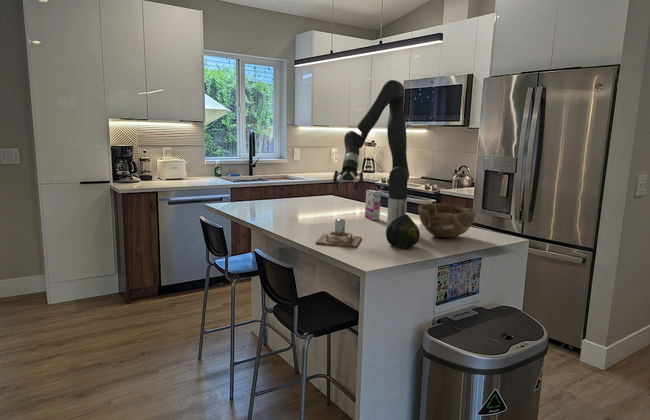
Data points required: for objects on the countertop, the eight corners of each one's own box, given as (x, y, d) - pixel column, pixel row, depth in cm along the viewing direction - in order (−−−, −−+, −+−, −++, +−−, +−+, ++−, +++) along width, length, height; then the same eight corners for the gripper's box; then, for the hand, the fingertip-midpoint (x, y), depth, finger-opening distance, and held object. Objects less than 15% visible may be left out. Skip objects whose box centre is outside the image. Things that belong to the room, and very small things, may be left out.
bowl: (460, 247, 202) (463, 214, 199) (406, 237, 218) (408, 206, 215) (480, 237, 224) (483, 208, 221) (430, 228, 240) (432, 201, 237)
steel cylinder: (345, 238, 205) (345, 219, 204) (343, 240, 201) (344, 221, 200) (335, 237, 206) (336, 218, 205) (333, 239, 202) (334, 220, 201)
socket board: (361, 238, 211) (361, 231, 210) (356, 248, 193) (356, 240, 193) (323, 235, 214) (324, 228, 214) (315, 244, 197) (315, 236, 196)
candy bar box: (379, 220, 257) (381, 192, 254) (371, 220, 255) (373, 192, 252) (372, 216, 267) (373, 189, 264) (364, 217, 266) (365, 189, 263)
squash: (388, 239, 189) (411, 212, 190) (375, 232, 203) (396, 207, 204) (410, 259, 193) (432, 233, 194) (395, 252, 207) (416, 227, 209)
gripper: (335, 158, 220) (330, 183, 211) (364, 159, 218) (361, 185, 209) (337, 168, 226) (332, 193, 217) (365, 169, 224) (361, 195, 215)
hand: (346, 189), depth 213 cm, fingers open, 8 cm apart
